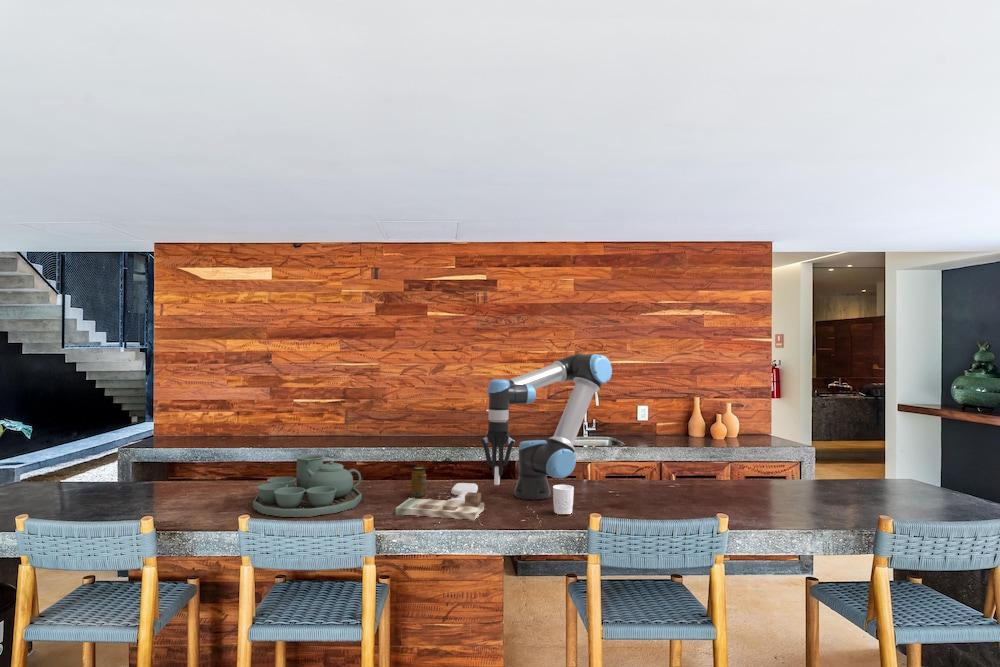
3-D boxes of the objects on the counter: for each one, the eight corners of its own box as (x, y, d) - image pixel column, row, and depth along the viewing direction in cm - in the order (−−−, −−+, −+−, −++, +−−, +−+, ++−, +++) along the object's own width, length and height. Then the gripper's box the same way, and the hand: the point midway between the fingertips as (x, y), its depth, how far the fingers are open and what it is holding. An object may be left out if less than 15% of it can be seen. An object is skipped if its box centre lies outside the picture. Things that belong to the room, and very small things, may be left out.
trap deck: (484, 509, 234) (484, 502, 234) (475, 520, 219) (475, 513, 219) (409, 504, 240) (409, 498, 240) (395, 514, 225) (395, 508, 225)
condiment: (421, 494, 257) (421, 465, 258) (432, 498, 251) (432, 468, 251) (406, 496, 253) (406, 467, 253) (417, 500, 246) (417, 470, 246)
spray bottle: (479, 490, 267) (471, 505, 242) (454, 489, 268) (444, 504, 243) (479, 483, 267) (471, 498, 242) (454, 482, 268) (444, 497, 243)
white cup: (568, 518, 224) (568, 490, 224) (548, 514, 228) (549, 487, 228) (577, 513, 231) (577, 486, 231) (558, 509, 235) (558, 483, 235)
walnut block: (480, 503, 233) (480, 493, 233) (477, 507, 228) (477, 496, 228) (468, 502, 234) (468, 492, 234) (464, 506, 229) (464, 495, 229)
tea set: (235, 505, 237) (235, 462, 238) (326, 488, 267) (327, 450, 267) (286, 526, 211) (287, 478, 211) (381, 505, 240) (382, 462, 240)
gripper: (517, 420, 232) (515, 483, 231) (483, 418, 235) (482, 480, 234) (513, 422, 225) (512, 487, 224) (479, 421, 227) (477, 485, 227)
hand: (496, 484), depth 229 cm, fingers closed
